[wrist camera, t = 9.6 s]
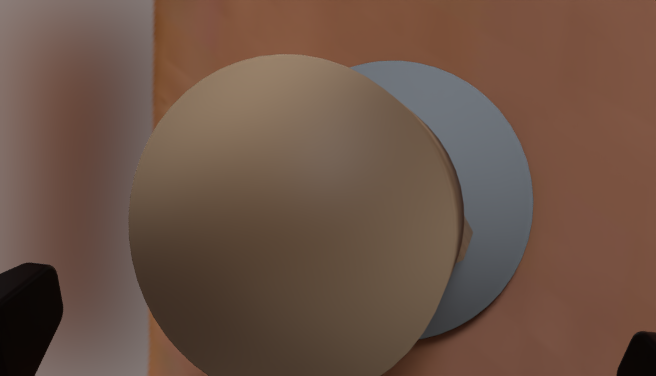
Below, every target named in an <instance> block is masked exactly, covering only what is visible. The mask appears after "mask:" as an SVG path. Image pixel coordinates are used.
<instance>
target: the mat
mask: <svg viewBox="0 0 656 376" xmlns="http://www.w3.org/2000/svg"><path fill="white" fill-rule="evenodd" d="M350 69H352V70H354V71H356V72H358V73H360V74H362V75H364V76H366V77H368V78H369V79H370V80H372V81H373V82H375V83H376V84H378V85H379V86H381V87H382V88H384V89H385V90H386V91H387V92H389V93H390V94H391V95H392V96H394V97H395V98H396V99H397V100H398V101H400V102H401V103H402V104H403V105H405V106H406V107H407V108H408V109H410V110H411V111H412V112H413V113H414V114H416V115H417V116H418V117H419V118H420V119H421V120H422V121H423V122H424V123H425V124H427V125H428V126H429V128H430V129H431V130H432V131H433V132H434V134H435V135H436V136H437V137H438V138H439V140H440V141H441V143H442V144H443V146H444V148H445V149H446V151H447V152H448V154H449V156H450V158H451V161H452V163H453V165H454V167H455V169H456V172H457V175H458V179H459V182H460V185H461V190H462V196H463V202H464V216H465V218H466V220H467V221H468V223H469V225H470V227H471V229H472V231H473V234H472V237H471V240H470V243H469V246H468V248H467V251H466V254H465V257H464V260H462V261H460V262H458V263H456V264H455V267H454V269H453V272H452V274H451V277H450V279H449V281H448V284H447V286H446V288H445V291H444V293H443V295H442V298H441V300H440V302H439V305H438V307H437V309H436V312H435V314H434V315H433V317H432V319H431V320H430V322H429V324H428V326H427V327H426V329H425V331H424V333H423V334H422V335H421V337H420V338H419V339H424V338H427V337H431V336H435V335H439V334H442V333H444V332H446V331H449V330H451V329H453V328H456V327H458V326H460V325H461V324H463V323H465V322H466V321H468V320H470V319H471V318H473V317H474V316H476V315H477V314H478V313H479V312H481V311H482V310H483V309H484V308H486V307H487V306H488V305H489V304H490V303H491V302H492V301H493V300H494V299H495V298H496V297H497V296H498V295H499V294H500V293H501V292H502V290H503V289H504V287H505V286H506V285H507V283H508V282H509V280H510V279H511V277H512V276H513V274H514V272H515V270H516V269H517V267H518V265H519V263H520V261H521V259H522V256H523V253H524V251H525V248H526V245H527V242H528V239H529V234H530V229H531V224H532V214H533V192H532V180H531V176H530V172H529V167H528V163H527V160H526V157H525V154H524V152H523V149H522V146H521V144H520V142H519V140H518V138H517V136H516V134H515V133H514V131H513V129H512V127H511V125H510V124H509V123H508V121H507V120H506V119H505V117H504V116H503V115H502V113H501V112H500V111H499V109H498V108H497V107H496V106H495V105H494V104H493V103H492V102H491V101H490V100H489V99H488V98H487V97H486V96H485V95H483V94H482V93H481V92H480V91H478V90H477V89H476V88H474V87H473V86H472V85H470V84H469V83H467V82H465V81H464V80H462V79H460V78H458V77H457V76H455V75H453V74H451V73H448V72H446V71H443V70H441V69H438V68H436V67H432V66H428V65H424V64H420V63H414V62H406V61H379V62H372V63H366V64H361V65H358V66H354V67H351V68H350Z"/></svg>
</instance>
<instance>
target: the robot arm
mask: <svg viewBox="0 0 656 376" xmlns="http://www.w3.org/2000/svg"><path fill="white" fill-rule="evenodd" d="M62 315H63V302H62V297H61V291H60V286H59V281H58V275H57V272H56V270H55V268H54V267H53V266H51V265H47V264H39V263H24V264H21V265H19V266H17V267H14V268H12V269H10V270H8V271H5V272H3V273H1V274H0V376H35V374H36V371H37V370H38V368H39V365H40V363H41V361H42V359H43V357H44V355H45V353H46V351H47V349H48V347H49V345H50V342H51V340H52V338H53V336H54V334H55V332H56V330H57V328H58V326H59V324H60V321H61V319H62ZM617 376H656V333H655V332H646V331H640V332H637V333H636V334H635V335H634V336H633V337H632V339H631V341H630V343H629V345H628V348H627V350H626V352H625V354H624V356H623V358H622V361H621V363H620V365H619V367H618V370H617Z"/></svg>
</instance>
